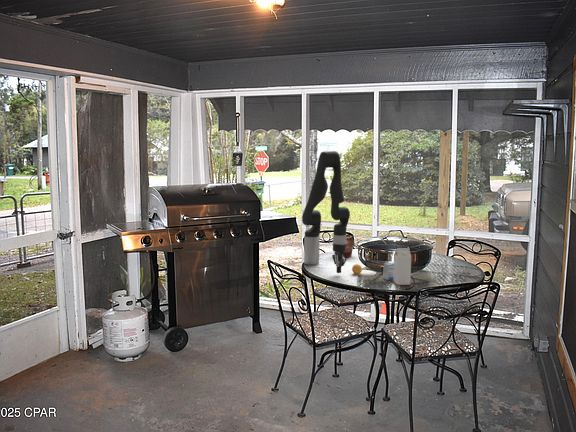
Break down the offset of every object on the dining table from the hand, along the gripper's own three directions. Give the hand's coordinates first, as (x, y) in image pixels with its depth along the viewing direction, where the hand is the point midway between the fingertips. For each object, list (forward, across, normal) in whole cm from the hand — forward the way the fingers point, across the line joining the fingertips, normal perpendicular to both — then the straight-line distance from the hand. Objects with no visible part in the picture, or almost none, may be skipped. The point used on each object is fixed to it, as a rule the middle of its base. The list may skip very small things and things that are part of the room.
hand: (338, 272), depth 282 cm
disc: (+2, 0, +17) cm, 17 cm away
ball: (-1, +1, +11) cm, 11 cm away
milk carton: (+2, +26, +24) cm, 35 cm away
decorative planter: (+2, -45, +29) cm, 54 cm away
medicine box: (+2, +16, +24) cm, 29 cm away
